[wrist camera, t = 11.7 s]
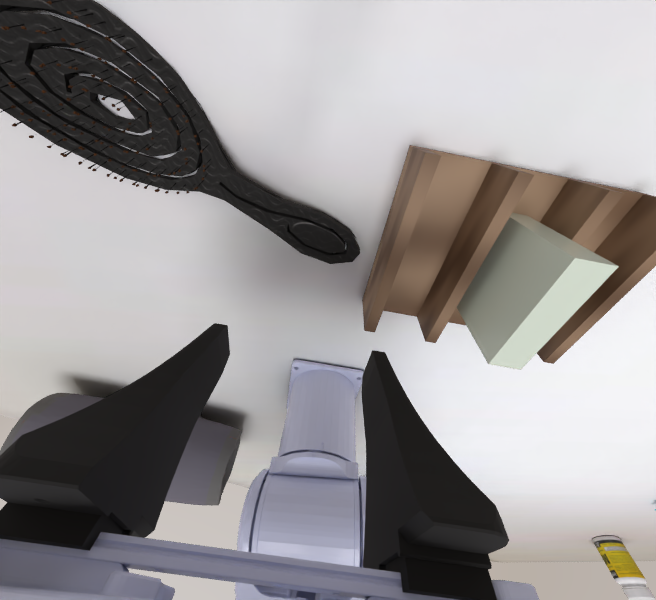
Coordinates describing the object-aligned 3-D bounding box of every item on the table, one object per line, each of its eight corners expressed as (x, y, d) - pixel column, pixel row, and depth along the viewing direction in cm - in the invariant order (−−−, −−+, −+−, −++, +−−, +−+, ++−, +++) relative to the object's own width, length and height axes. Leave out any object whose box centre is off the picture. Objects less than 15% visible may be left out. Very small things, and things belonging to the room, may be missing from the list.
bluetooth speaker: (248, 407, 34) (216, 496, 26) (242, 439, 40) (215, 521, 32) (68, 368, 32) (-28, 452, 24) (87, 407, 37) (15, 487, 29)
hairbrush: (328, 308, 21) (-89, 98, 13) (328, 283, 24) (-11, 100, 16) (397, 222, 16) (-165, -165, 9) (387, 204, 19) (-38, -95, 12)
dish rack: (525, 329, 23) (553, 363, 20) (362, 300, 23) (364, 330, 20) (640, 192, 16) (712, 211, 13) (409, 145, 16) (425, 152, 13)
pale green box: (474, 300, 21) (520, 369, 15) (450, 296, 21) (488, 364, 15) (527, 215, 17) (618, 266, 11) (498, 209, 17) (575, 258, 11)
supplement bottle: (590, 536, 54) (624, 597, 47) (618, 534, 52) (658, 597, 45) (593, 542, 56) (626, 601, 49) (620, 540, 54) (659, 601, 47)
